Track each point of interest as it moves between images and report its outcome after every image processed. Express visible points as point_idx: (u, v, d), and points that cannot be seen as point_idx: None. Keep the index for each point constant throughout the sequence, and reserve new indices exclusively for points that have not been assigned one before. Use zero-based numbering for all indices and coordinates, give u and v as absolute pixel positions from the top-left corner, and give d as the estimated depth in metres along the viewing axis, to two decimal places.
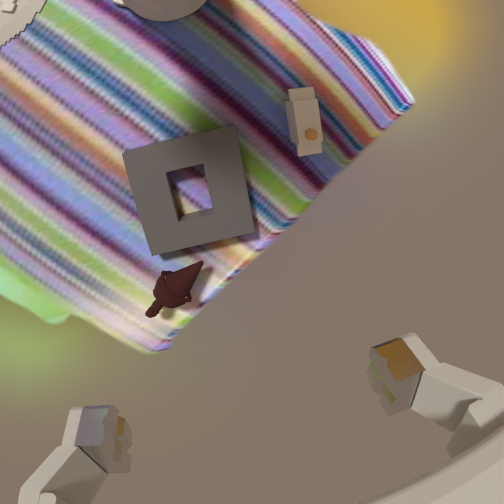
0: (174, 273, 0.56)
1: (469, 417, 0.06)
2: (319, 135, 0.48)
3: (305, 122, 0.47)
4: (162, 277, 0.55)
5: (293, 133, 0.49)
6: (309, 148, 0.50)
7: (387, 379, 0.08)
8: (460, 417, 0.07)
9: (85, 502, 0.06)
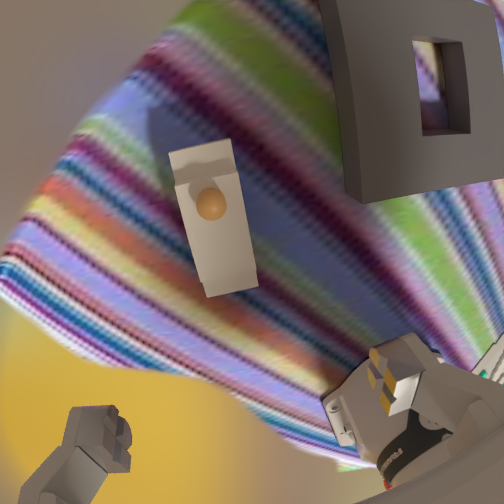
0: None
1: (469, 417, 0.06)
2: (186, 200, 0.20)
3: (225, 228, 0.21)
4: None
5: None
6: (204, 161, 0.20)
7: (387, 379, 0.08)
8: (461, 417, 0.07)
9: (85, 502, 0.06)
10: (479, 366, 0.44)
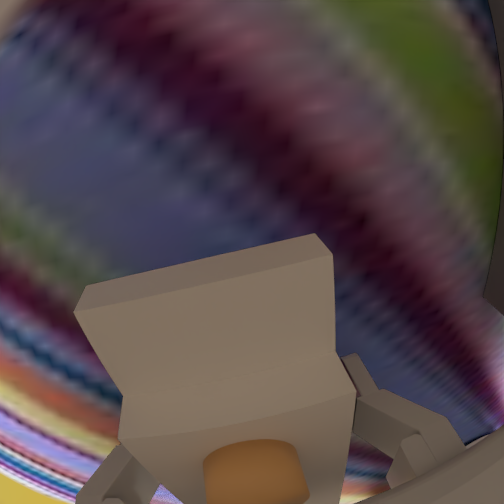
0: None
1: (401, 453, 0.06)
2: (167, 464, 0.05)
3: None
4: None
5: None
6: (219, 339, 0.05)
7: None
8: None
9: None
10: None
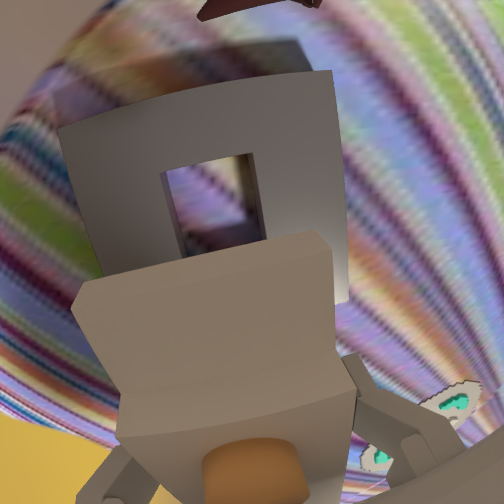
0: None
1: (401, 453, 0.06)
2: (165, 463, 0.05)
3: None
4: None
5: None
6: (218, 336, 0.05)
7: None
8: None
9: None
10: None
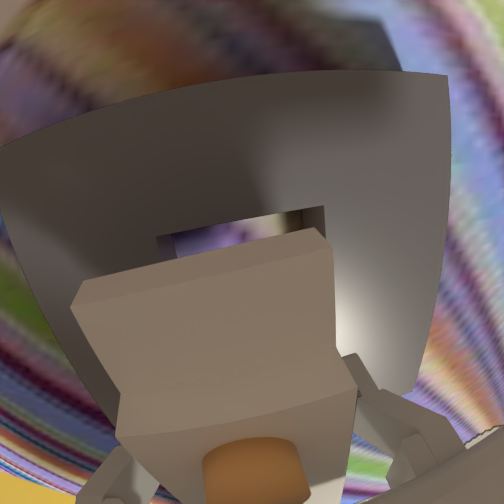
0: None
1: (401, 453, 0.06)
2: (165, 463, 0.05)
3: None
4: None
5: None
6: (218, 334, 0.05)
7: None
8: None
9: None
10: None
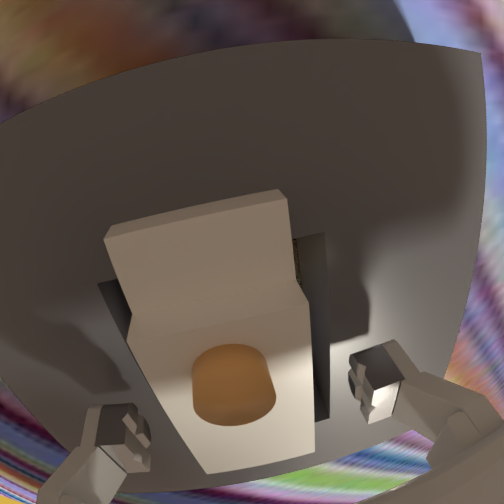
0: None
1: (448, 430, 0.06)
2: (163, 371, 0.07)
3: None
4: None
5: None
6: (207, 261, 0.07)
7: (365, 387, 0.08)
8: (441, 427, 0.07)
9: (104, 503, 0.06)
10: None
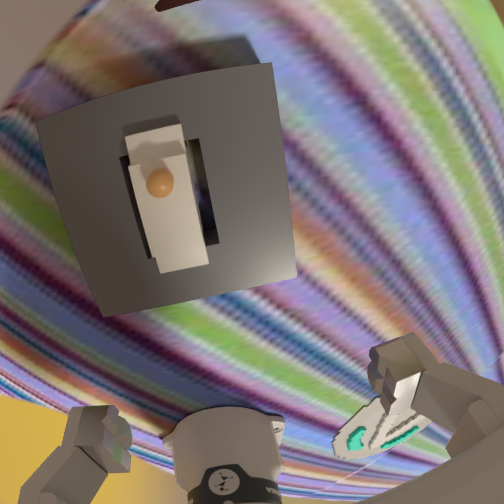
0: None
1: (469, 417, 0.06)
2: (138, 180, 0.21)
3: (174, 206, 0.22)
4: None
5: None
6: (156, 144, 0.21)
7: (387, 379, 0.08)
8: (460, 417, 0.07)
9: (85, 502, 0.06)
10: (351, 424, 0.49)
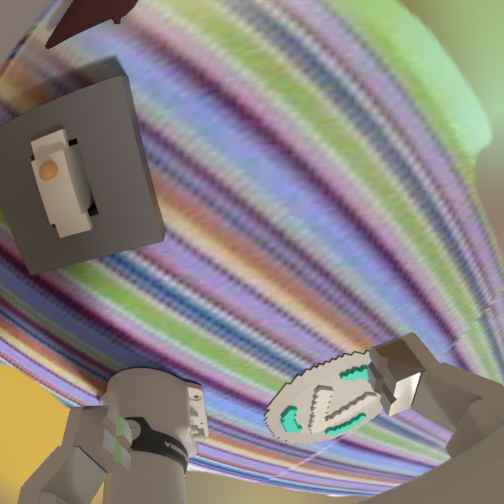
0: (95, 23, 0.23)
1: (469, 417, 0.06)
2: (37, 170, 0.26)
3: (59, 186, 0.28)
4: (114, 17, 0.22)
5: (74, 160, 0.29)
6: (49, 144, 0.26)
7: (387, 379, 0.08)
8: (460, 417, 0.07)
9: (85, 502, 0.06)
10: (278, 402, 0.53)
